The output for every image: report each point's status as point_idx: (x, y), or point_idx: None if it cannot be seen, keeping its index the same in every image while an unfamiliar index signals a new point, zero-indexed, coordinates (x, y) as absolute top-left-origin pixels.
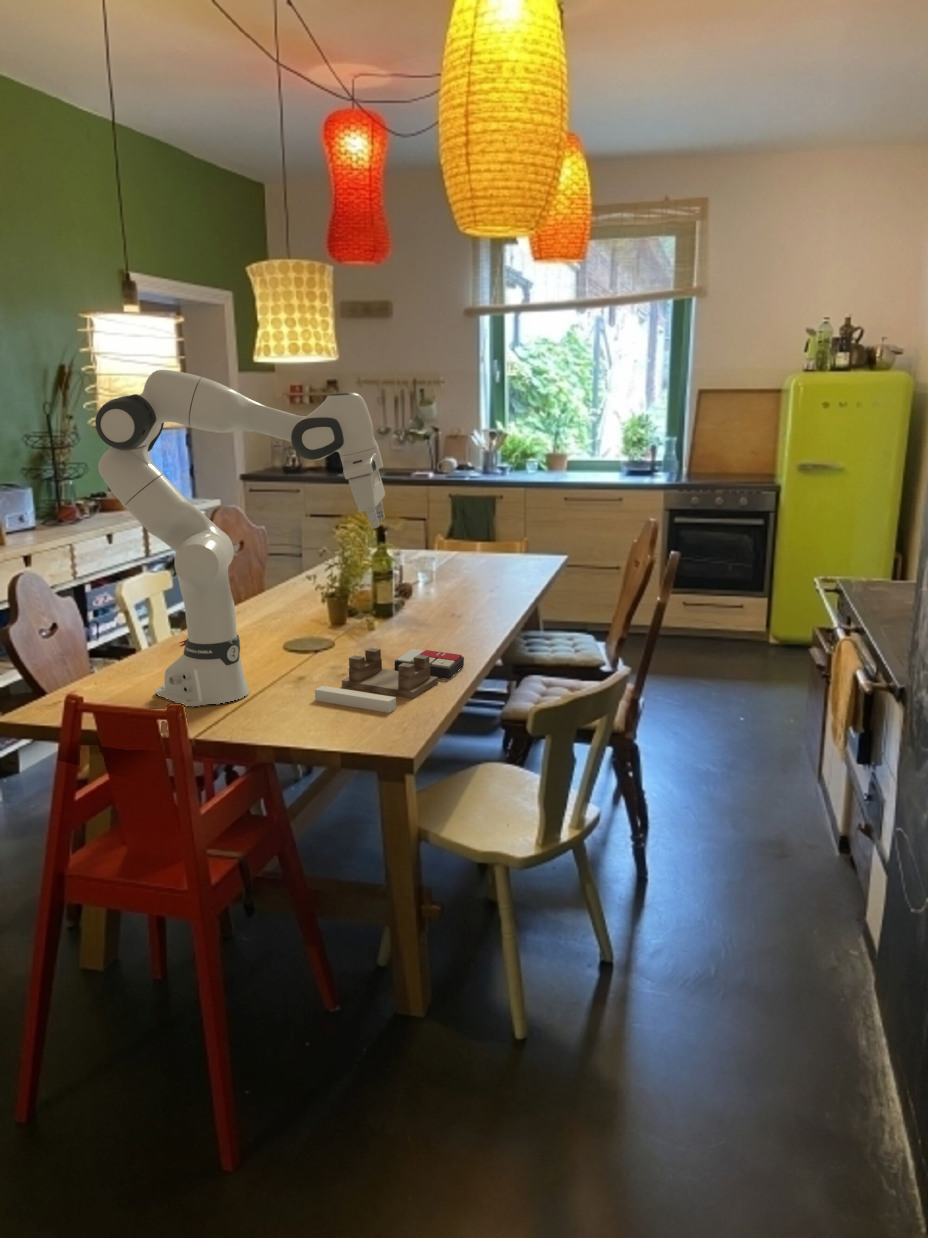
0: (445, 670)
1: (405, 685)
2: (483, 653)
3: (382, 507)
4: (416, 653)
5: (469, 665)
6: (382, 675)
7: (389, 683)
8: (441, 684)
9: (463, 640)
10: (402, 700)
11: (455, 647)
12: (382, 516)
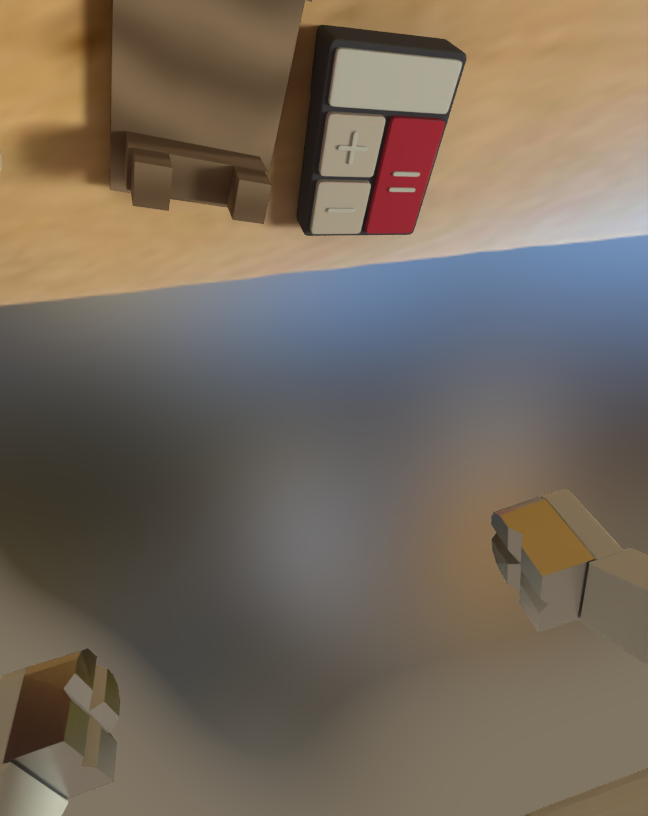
0: (303, 222)
1: (125, 164)
2: (499, 233)
3: (637, 656)
4: (412, 98)
5: None
6: (233, 15)
7: (157, 80)
8: None
9: (620, 145)
10: (78, 156)
11: (562, 144)
12: (517, 578)
